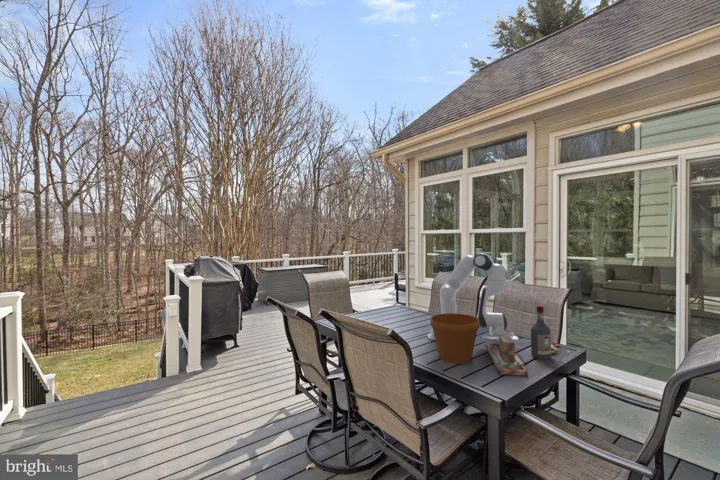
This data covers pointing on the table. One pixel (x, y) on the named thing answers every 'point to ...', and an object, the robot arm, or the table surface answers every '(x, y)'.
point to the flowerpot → (455, 336)
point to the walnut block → (507, 349)
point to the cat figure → (553, 348)
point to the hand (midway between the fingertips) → (503, 344)
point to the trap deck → (506, 363)
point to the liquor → (540, 337)
